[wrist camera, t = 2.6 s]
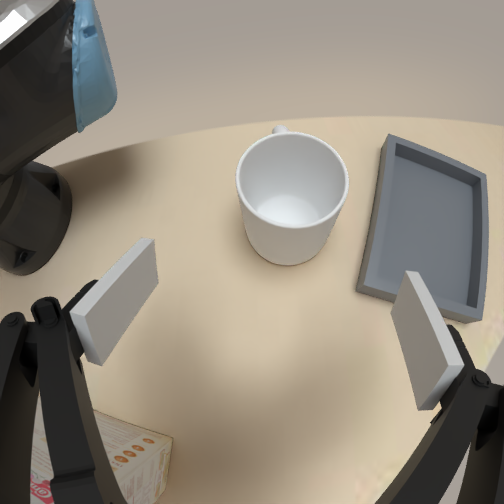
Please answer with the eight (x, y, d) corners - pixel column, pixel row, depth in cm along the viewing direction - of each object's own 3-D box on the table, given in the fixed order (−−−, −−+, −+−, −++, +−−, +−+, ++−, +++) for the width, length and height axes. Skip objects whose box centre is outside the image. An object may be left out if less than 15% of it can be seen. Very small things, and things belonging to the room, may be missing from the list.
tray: (355, 291, 29) (363, 284, 26) (381, 148, 34) (388, 133, 31) (466, 323, 27) (481, 320, 24) (474, 185, 32) (486, 174, 29)
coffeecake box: (53, 443, 25) (-72, 471, 7) (56, 391, 27) (-83, 394, 9) (167, 492, 24) (72, 595, 5) (175, 436, 26) (58, 523, 7)
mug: (241, 166, 34) (231, 103, 24) (314, 161, 34) (326, 97, 24) (249, 271, 30) (238, 233, 21) (332, 263, 30) (359, 223, 20)
